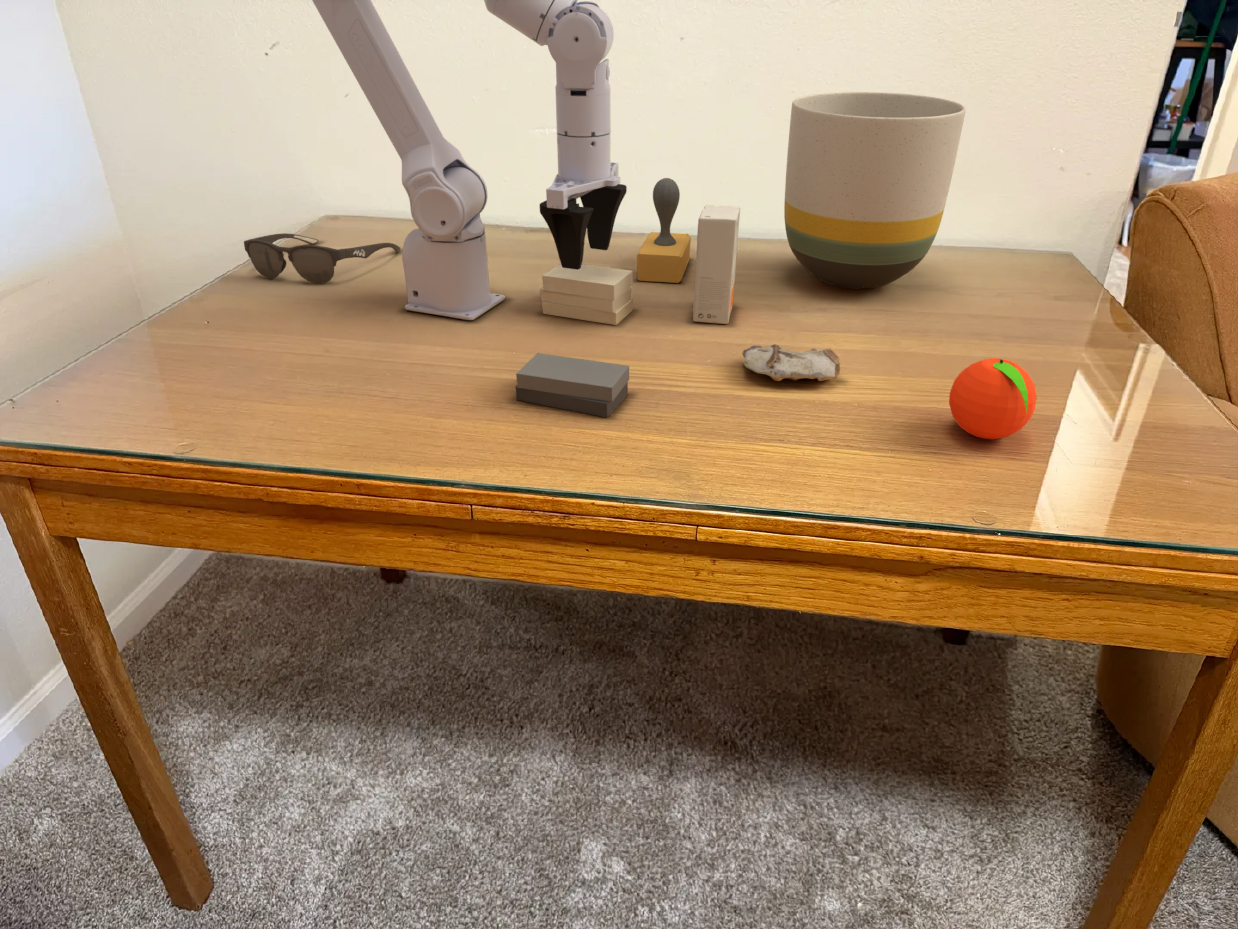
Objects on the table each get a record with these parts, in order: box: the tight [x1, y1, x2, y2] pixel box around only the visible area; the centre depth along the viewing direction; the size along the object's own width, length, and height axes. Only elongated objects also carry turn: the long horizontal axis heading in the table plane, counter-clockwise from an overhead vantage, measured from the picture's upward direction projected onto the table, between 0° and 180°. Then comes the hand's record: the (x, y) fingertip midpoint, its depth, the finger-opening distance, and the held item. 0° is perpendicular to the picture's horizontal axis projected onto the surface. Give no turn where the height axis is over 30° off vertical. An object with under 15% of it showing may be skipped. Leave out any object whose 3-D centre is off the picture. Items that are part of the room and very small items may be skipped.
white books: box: [539, 286, 634, 326], centre depth 100 cm, size 10×6×3 cm, turn 67°
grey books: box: [515, 352, 630, 418], centre depth 80 cm, size 10×6×3 cm, turn 67°
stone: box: [741, 343, 841, 382], centre depth 85 cm, size 10×7×3 cm
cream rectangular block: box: [542, 263, 633, 301], centre depth 98 cm, size 9×6×2 cm, turn 67°
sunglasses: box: [243, 232, 401, 284], centre depth 115 cm, size 16×17×5 cm
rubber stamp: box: [636, 177, 692, 284], centre depth 110 cm, size 10×6×12 cm, turn 169°
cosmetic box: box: [692, 204, 741, 325], centre depth 97 cm, size 6×4×12 cm
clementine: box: [948, 357, 1038, 440], centre depth 72 cm, size 8×7×7 cm
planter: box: [783, 91, 967, 290], centre depth 104 cm, size 20×20×21 cm
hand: (585, 257), depth 97 cm, fingers open, 7 cm apart
